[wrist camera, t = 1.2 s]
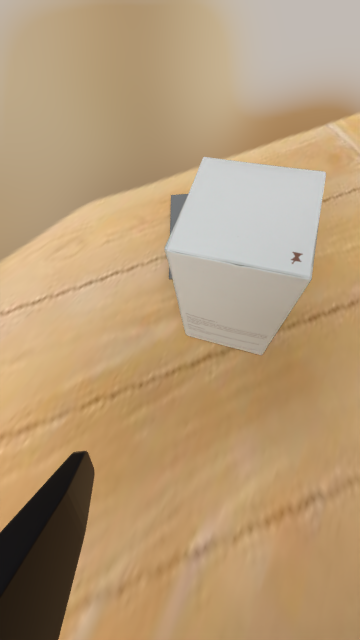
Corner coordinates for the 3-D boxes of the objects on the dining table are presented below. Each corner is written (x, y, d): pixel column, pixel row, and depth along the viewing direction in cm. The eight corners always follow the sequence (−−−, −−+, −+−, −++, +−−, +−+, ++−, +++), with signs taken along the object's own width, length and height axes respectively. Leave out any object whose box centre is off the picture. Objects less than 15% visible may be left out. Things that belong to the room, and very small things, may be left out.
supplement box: (278, 286, 26) (333, 168, 15) (262, 358, 24) (315, 283, 12) (204, 270, 28) (202, 151, 16) (182, 335, 25) (161, 249, 14)
